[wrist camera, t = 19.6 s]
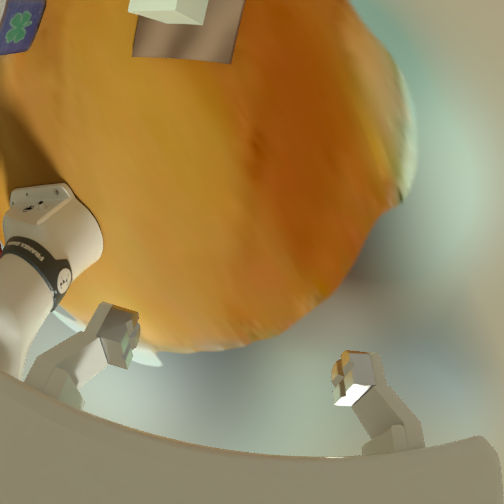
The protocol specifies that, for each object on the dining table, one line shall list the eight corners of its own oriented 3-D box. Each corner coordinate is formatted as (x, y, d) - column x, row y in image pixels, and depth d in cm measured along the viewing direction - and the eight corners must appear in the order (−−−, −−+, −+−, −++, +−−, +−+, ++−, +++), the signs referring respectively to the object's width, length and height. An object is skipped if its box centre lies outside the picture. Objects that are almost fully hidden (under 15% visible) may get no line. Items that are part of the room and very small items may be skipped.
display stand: (137, 56, 28) (114, 57, 23) (152, -19, 22) (132, -31, 17) (230, 64, 29) (222, 63, 24) (249, -16, 23) (244, -31, 18)
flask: (39, -3, 20) (-10, -3, 12) (51, -1, 21) (1, -4, 12) (20, 50, 25) (-30, 60, 17) (30, 53, 26) (-20, 63, 17)
